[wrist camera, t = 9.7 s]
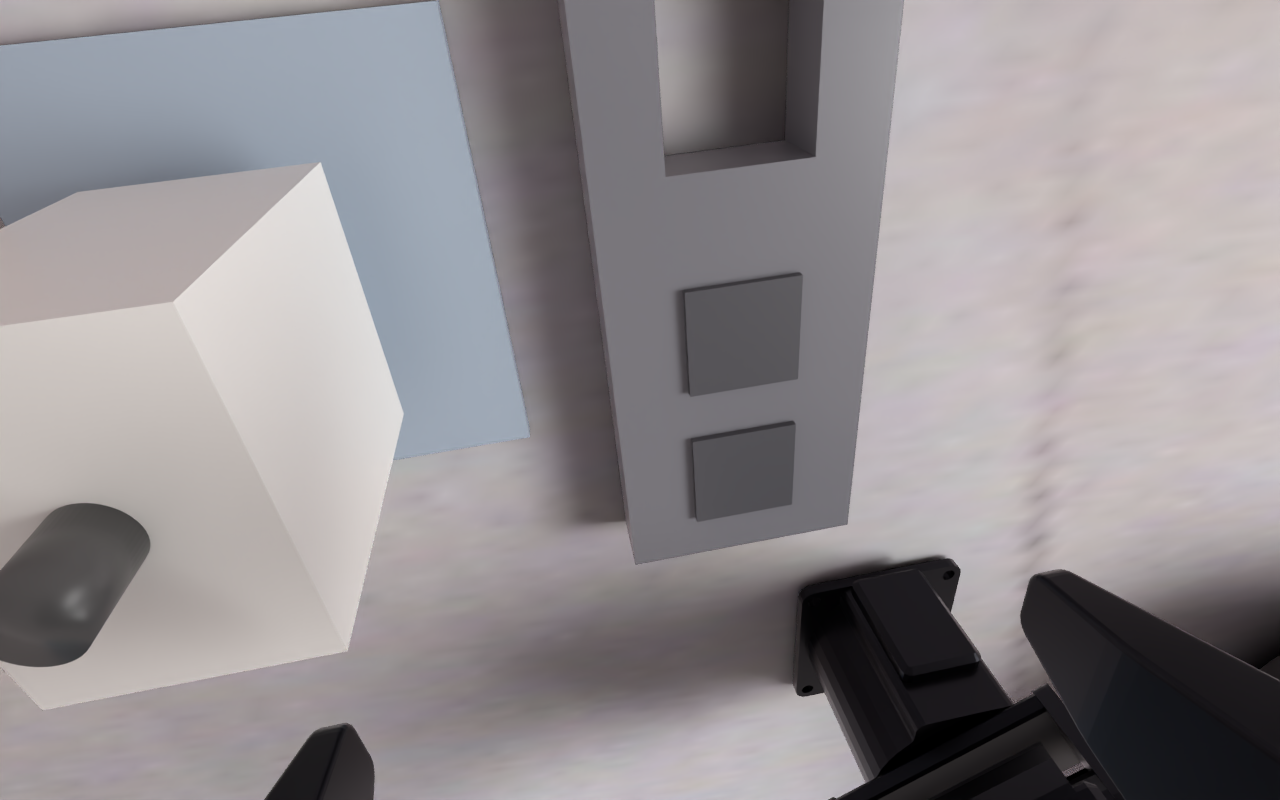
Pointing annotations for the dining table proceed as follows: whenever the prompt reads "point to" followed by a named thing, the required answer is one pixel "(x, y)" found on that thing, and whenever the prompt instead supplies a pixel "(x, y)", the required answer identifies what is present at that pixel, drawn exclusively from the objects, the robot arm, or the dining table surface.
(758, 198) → the power strip
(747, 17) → the dining table surface
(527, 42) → the dining table surface
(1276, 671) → the coal bowl
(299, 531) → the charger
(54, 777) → the dining table surface
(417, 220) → the mat
